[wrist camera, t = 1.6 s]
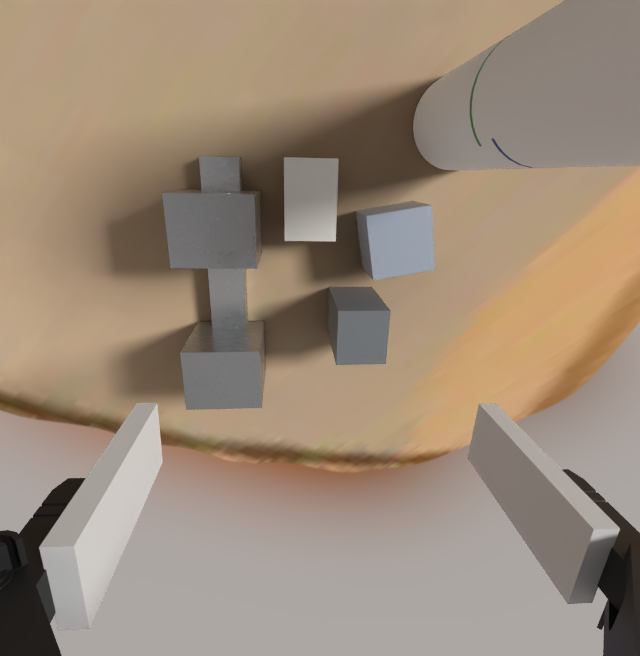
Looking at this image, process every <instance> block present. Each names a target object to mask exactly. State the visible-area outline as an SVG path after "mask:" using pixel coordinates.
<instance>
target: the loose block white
mask: <svg viewBox="0 0 640 656" xmlns="http://www.w3.org/2000/svg"><path fill="white" fill-rule="evenodd" d="M338 163H339V159H333V158H295V157H284V220H285V241H336V220H337V192H338Z"/></svg>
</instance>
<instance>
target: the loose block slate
mask: <svg viewBox="0 0 640 656" xmlns="http://www.w3.org/2000/svg"><path fill="white" fill-rule="evenodd" d="M356 218H357V227H358V235H359V244H360V252H361V260H362V267H363V269H364V270H365V271H366V272H367V273H368V275H369V276H370V277H371V278H372V279H373V280H379V279H384V278H390V277H396V276H402V275H408V274H413V273H419V272H425V271H431V270H435V260H434V240H433V220H432V205H429V204H424V203H419V202H414V201H410V202H404V203H398V204H392V205H386V206H381V207H375V208H369V209H363V210H357V211H356Z"/></svg>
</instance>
